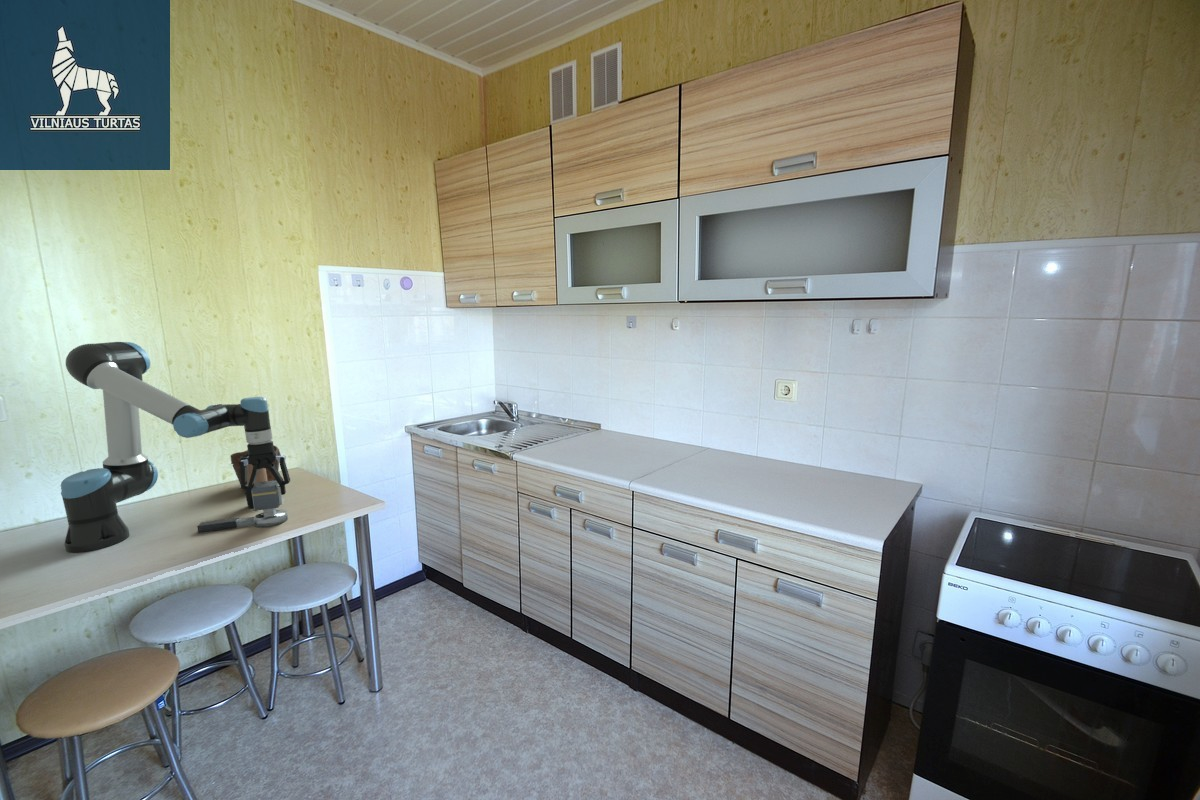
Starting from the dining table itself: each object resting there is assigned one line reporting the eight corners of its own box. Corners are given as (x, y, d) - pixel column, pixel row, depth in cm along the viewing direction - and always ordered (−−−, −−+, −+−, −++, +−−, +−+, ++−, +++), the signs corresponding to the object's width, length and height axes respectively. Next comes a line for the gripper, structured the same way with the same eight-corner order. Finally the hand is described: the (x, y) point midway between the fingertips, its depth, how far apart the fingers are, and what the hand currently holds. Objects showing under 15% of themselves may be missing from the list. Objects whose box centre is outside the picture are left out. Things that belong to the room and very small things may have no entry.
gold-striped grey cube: (254, 510, 176) (251, 488, 175) (260, 503, 183) (257, 482, 181) (278, 507, 178) (275, 485, 177) (283, 501, 185) (280, 479, 183)
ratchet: (194, 537, 170) (190, 515, 169) (206, 525, 179) (202, 505, 178) (283, 524, 178) (281, 504, 177) (290, 514, 188) (288, 495, 186)
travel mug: (275, 501, 201) (268, 452, 198) (260, 509, 194) (253, 458, 191) (257, 501, 202) (250, 452, 199) (242, 508, 195) (234, 458, 191)
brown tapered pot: (281, 476, 234) (275, 438, 230) (288, 487, 218) (282, 446, 215) (233, 486, 223) (226, 446, 219) (238, 498, 207) (230, 455, 204)
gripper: (221, 447, 170) (232, 513, 174) (290, 441, 176) (299, 504, 180) (229, 442, 177) (239, 505, 181) (295, 436, 183) (303, 497, 187)
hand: (269, 505), depth 180 cm, fingers closed on gold-striped grey cube, 7 cm apart
